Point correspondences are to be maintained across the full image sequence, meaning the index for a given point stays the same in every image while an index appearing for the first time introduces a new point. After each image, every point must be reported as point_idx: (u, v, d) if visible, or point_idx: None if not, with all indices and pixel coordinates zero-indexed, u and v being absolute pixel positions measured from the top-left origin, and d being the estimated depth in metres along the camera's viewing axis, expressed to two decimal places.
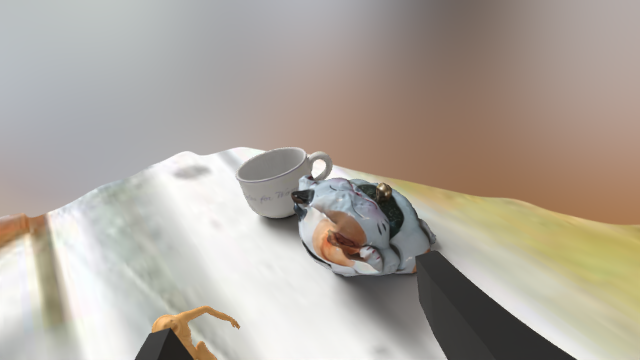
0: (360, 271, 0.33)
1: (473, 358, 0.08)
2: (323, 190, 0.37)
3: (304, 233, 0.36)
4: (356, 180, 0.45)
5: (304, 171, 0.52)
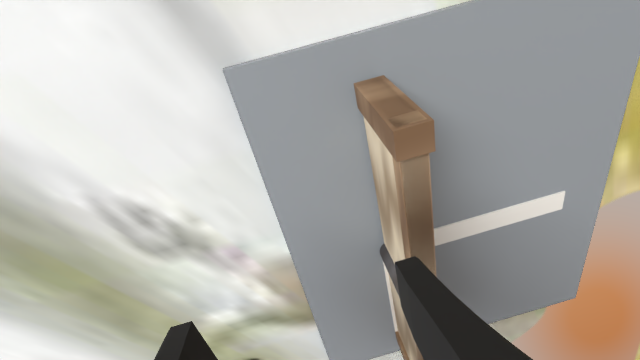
0: None
1: None
2: None
3: None
4: None
5: None
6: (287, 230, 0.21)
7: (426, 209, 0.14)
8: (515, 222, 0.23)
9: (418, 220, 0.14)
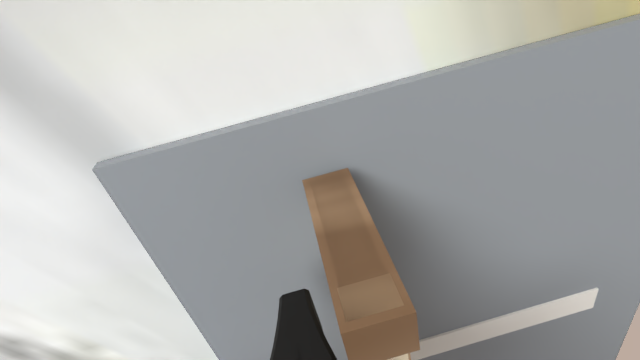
0: None
1: None
2: None
3: None
4: None
5: None
6: (224, 354, 0.15)
7: None
8: (531, 325, 0.18)
9: None
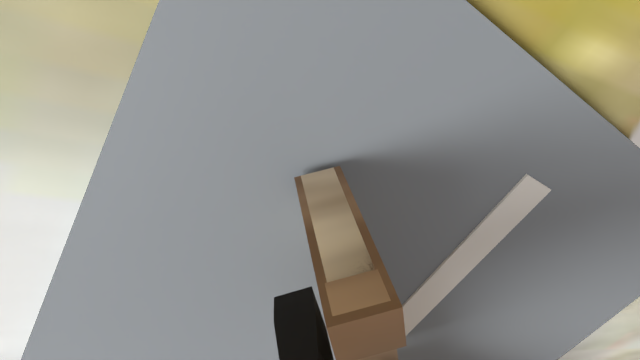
0: None
1: None
2: None
3: None
4: None
5: None
6: None
7: None
8: (491, 249, 0.14)
9: None
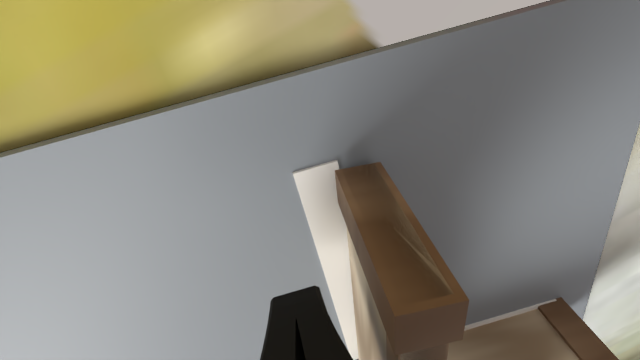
0: None
1: None
2: None
3: None
4: None
5: None
6: None
7: None
8: None
9: None
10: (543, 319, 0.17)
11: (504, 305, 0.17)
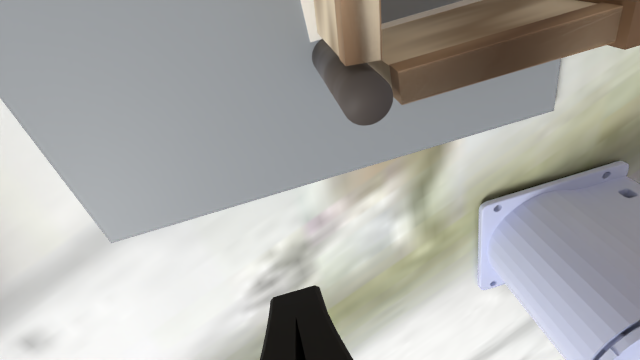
0: None
1: None
2: None
3: None
4: None
5: None
6: (283, 186, 0.19)
7: None
8: None
9: None
10: None
11: None
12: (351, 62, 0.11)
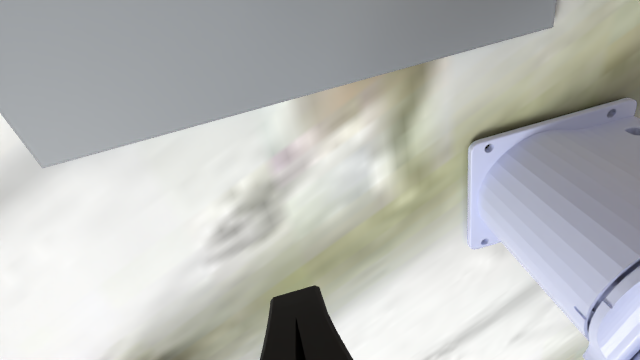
0: None
1: None
2: None
3: None
4: None
5: None
6: (241, 106, 0.16)
7: None
8: None
9: None
10: None
11: None
12: None
